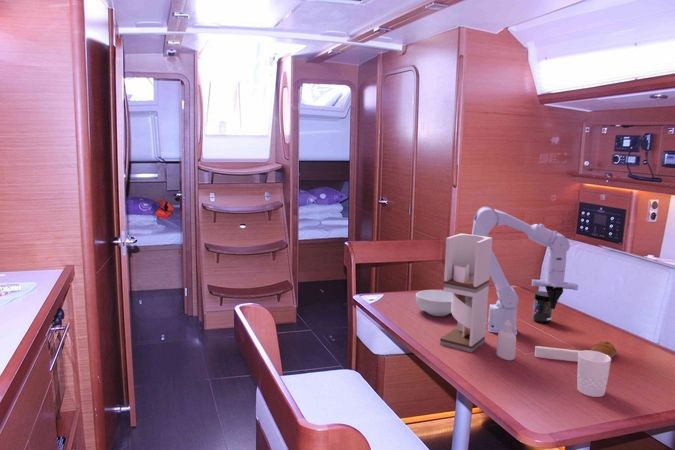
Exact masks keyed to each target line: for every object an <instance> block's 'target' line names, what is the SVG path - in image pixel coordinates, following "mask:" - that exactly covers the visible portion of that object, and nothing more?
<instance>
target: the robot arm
mask: <svg viewBox="0 0 675 450" xmlns="http://www.w3.org/2000/svg"><path fill="white" fill-rule="evenodd" d="M495 226H497V227H500V226H501V227H502V226H507V227H510V228H513V229H514V230H517V231H520V232H522V233H525V234H526V235H527V238H528V239H529V240H531V241H532V242H535V243H537V244H539V245H541V246H543V247H545V248H548V247H549V250H548V257H547V265H546V266H547V267H546V277H545V279H533V278H532V279H531V286H532V287H541V288H542V287H543V288H544V287H545V290H546V292H547V293H548V297H549V302H550V309H553V310H555V309H556V306H557V304H558V301H559V299H560V297H561V296H562V294H563V293H564V290H565V289H566V290H573V291H578V289H579V283H576V282H575V283H574V282H569V281H565V276H566V266H567V265H566V264H567V254H568V253H567V252H568V251H569V249H570V248H571V245H570V241H569V239H568V238H567V237H566V236H565V235H563V234H561V233H560V232H558V231H557V230H551V229H549V228H546V227H545V225H544V224H543V223H539V224H538V223H534V224H529V223H526V222H525V221H523V220H521V219H518V218H517V217H514V216H513V215H511V214H508V213H506V212H504V211H501V210H498V209H495V208H494V209H493V208H491V207H490V206H482V207H480V208H478V210H477V211H476V213H475V215H474V216H473V224H472V230H471V235H477V236H485V237H489V233H490V232H491V230H492V229H493V228H494V227H495ZM489 277H490V279H491V281H492V282H493V285H494V286H495V290H496V296H497V298H498V299H497V300H496V302H495V304H489V309H488V319H487V328H488V333H496V334H498V333H499V331H501V330H503V329H504V323H506V322H507V320H510V324H512V332H513V333H514V334H515V335H516V336H517V335H518V331H517V315H518V304H519V295H518V293H516V290H515V288H514V286H513V285H511V284H510V283H509V282H508V279H507V278H506V276H505V274H504V271H503V269H502V267H501V266H500V264H499V261H498V259H497V257H496V255H495V253H494V251H493V248H492V249H491V263H490V276H489Z"/></svg>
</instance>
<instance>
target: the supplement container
mask: <svg viewBox="0 0 675 450" xmlns="http://www.w3.org/2000/svg"><path fill="white" fill-rule="evenodd" d="M533 294H534V295H533V297H534V298H533V305H532V307H533V308H532V309H533V310H532V317H531V318H532V320H533V322H535V323H539V324H542V325H543V324H545V325H546V324H551V322H552V319H553V310H554V309H550V302H549V297H548V293H547V291H542V290H541V291H534V293H533Z"/></svg>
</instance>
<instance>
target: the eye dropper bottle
mask: <svg viewBox="0 0 675 450" xmlns="http://www.w3.org/2000/svg"><path fill="white" fill-rule="evenodd" d="M516 346H517V335H515V334H514V333H513V332H512V324H510V320H507V322H506V323H504V329H503V330H501V331H499V333H497V344H496V356H497V357H499V358H501V359H502V360H506V361H513V360H515V358H516V348H517V347H516Z"/></svg>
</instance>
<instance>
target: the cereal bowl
mask: <svg viewBox="0 0 675 450" xmlns="http://www.w3.org/2000/svg"><path fill="white" fill-rule="evenodd" d="M415 301H416V304H417V306H418V308H419V309H421V310H422V311H424V312H426V314H428V315H430V316H434V317H446V316H447V315H449V314H452V312H451V305H452V293H450V292H445V291H443V290H441V289H426V290H421V291H418V292H416V293H415Z"/></svg>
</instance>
